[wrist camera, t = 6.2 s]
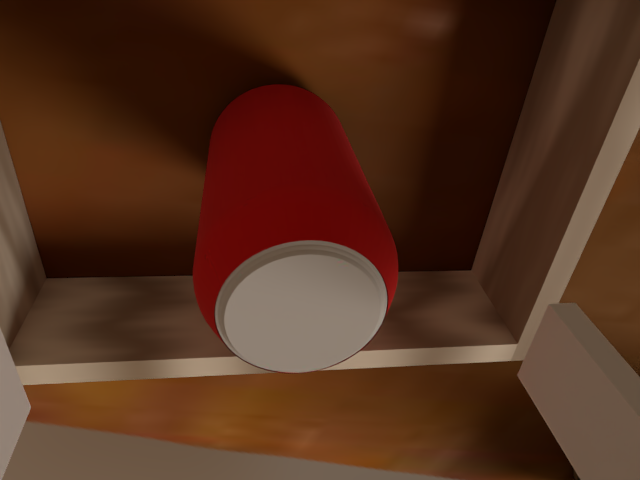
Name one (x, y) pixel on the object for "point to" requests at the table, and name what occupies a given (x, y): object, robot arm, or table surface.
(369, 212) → the beverage can
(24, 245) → the frame
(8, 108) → the table surface
